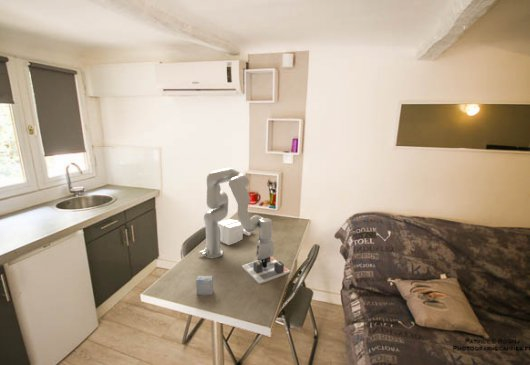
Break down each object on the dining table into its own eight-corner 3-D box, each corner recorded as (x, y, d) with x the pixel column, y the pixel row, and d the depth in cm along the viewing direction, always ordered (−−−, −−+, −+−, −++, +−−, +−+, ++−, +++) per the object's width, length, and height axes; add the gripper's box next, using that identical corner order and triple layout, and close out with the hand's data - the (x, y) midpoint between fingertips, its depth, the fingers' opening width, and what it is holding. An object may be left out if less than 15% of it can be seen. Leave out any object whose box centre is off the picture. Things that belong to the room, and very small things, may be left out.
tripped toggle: (256, 273, 148) (257, 265, 146) (253, 269, 151) (253, 262, 150) (262, 271, 150) (262, 263, 149) (258, 267, 153) (259, 260, 152)
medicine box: (213, 289, 134) (213, 275, 132) (211, 295, 130) (211, 280, 128) (198, 289, 134) (197, 275, 132) (196, 295, 129) (195, 280, 127)
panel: (259, 284, 140) (259, 274, 138) (241, 267, 156) (242, 257, 154) (289, 272, 152) (290, 263, 150) (270, 257, 168) (271, 249, 166)
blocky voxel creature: (258, 239, 198) (232, 249, 177) (237, 229, 214) (210, 238, 193) (260, 221, 196) (234, 229, 174) (238, 213, 211) (211, 219, 190)
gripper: (257, 244, 141) (257, 273, 145) (279, 238, 149) (277, 266, 154) (251, 239, 147) (250, 267, 151) (271, 234, 155) (270, 260, 160)
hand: (264, 266), depth 153 cm, fingers closed
